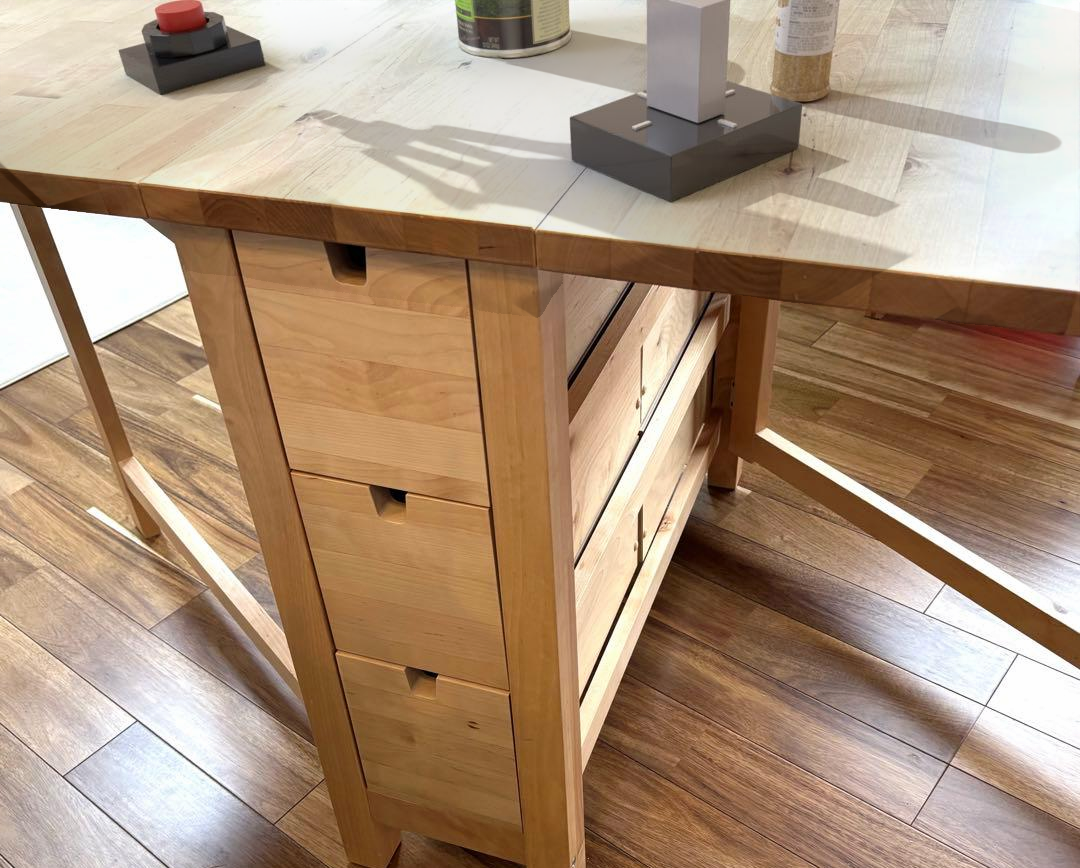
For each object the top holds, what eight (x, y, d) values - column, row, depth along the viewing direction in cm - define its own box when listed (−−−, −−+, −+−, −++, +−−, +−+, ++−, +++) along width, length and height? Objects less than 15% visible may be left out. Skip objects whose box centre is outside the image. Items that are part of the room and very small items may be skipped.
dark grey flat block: (670, 202, 67) (671, 153, 65) (571, 160, 73) (568, 114, 71) (798, 148, 72) (803, 101, 70) (695, 113, 78) (697, 68, 76)
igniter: (160, 96, 89) (146, 46, 87) (126, 75, 94) (111, 28, 92) (266, 66, 94) (254, 17, 91) (227, 48, 98) (215, 1, 96)
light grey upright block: (725, 113, 69) (731, -7, 65) (697, 123, 68) (701, 3, 63) (673, 96, 72) (675, -20, 68) (646, 105, 71) (646, -11, 67)
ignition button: (171, 37, 89) (165, 15, 88) (153, 29, 92) (147, 7, 91) (214, 26, 91) (209, 4, 90) (195, 18, 94) (190, -4, 92)
